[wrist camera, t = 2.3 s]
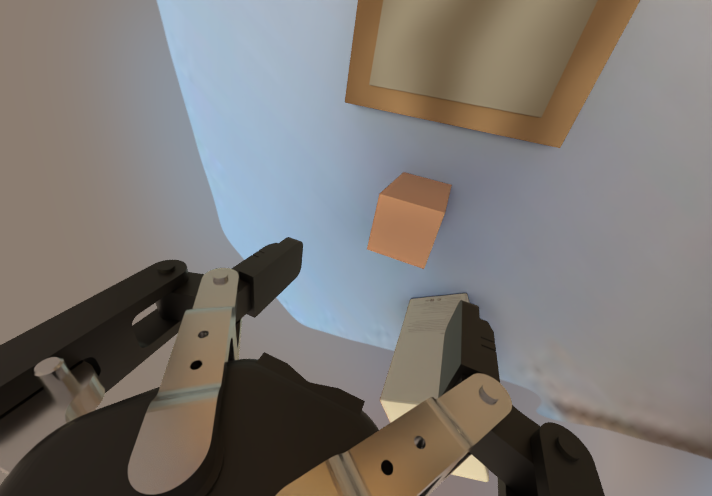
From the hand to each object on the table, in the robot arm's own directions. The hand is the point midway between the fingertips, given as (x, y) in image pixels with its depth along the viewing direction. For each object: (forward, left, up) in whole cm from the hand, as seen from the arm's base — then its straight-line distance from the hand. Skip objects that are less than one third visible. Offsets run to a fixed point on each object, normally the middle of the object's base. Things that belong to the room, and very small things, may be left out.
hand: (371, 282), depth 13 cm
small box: (-7, +13, -15) cm, 21 cm away
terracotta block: (0, 0, -15) cm, 15 cm away
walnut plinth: (0, -13, -15) cm, 20 cm away
